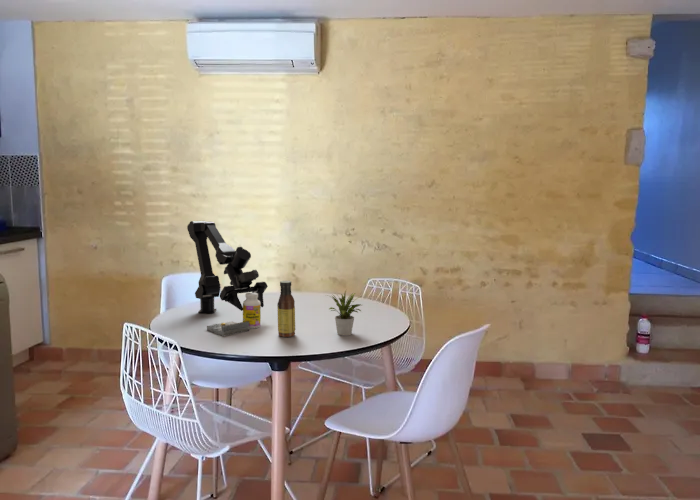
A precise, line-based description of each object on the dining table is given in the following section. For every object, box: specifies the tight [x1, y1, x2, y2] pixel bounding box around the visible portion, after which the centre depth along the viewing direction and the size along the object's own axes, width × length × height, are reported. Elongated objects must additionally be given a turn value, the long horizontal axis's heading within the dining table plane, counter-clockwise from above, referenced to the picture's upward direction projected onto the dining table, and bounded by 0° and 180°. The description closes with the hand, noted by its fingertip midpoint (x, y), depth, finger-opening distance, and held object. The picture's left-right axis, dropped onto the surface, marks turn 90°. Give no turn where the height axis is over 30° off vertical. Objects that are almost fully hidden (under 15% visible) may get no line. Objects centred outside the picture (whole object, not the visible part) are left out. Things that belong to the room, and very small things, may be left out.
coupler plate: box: [206, 321, 250, 337], centre depth 201 cm, size 11×11×4 cm
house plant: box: [326, 289, 363, 336], centre depth 197 cm, size 14×14×16 cm
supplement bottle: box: [242, 292, 262, 330], centre depth 206 cm, size 7×7×13 cm
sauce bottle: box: [277, 280, 296, 338], centre depth 194 cm, size 6×6×20 cm
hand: (252, 308), depth 205 cm, fingers open, 9 cm apart
